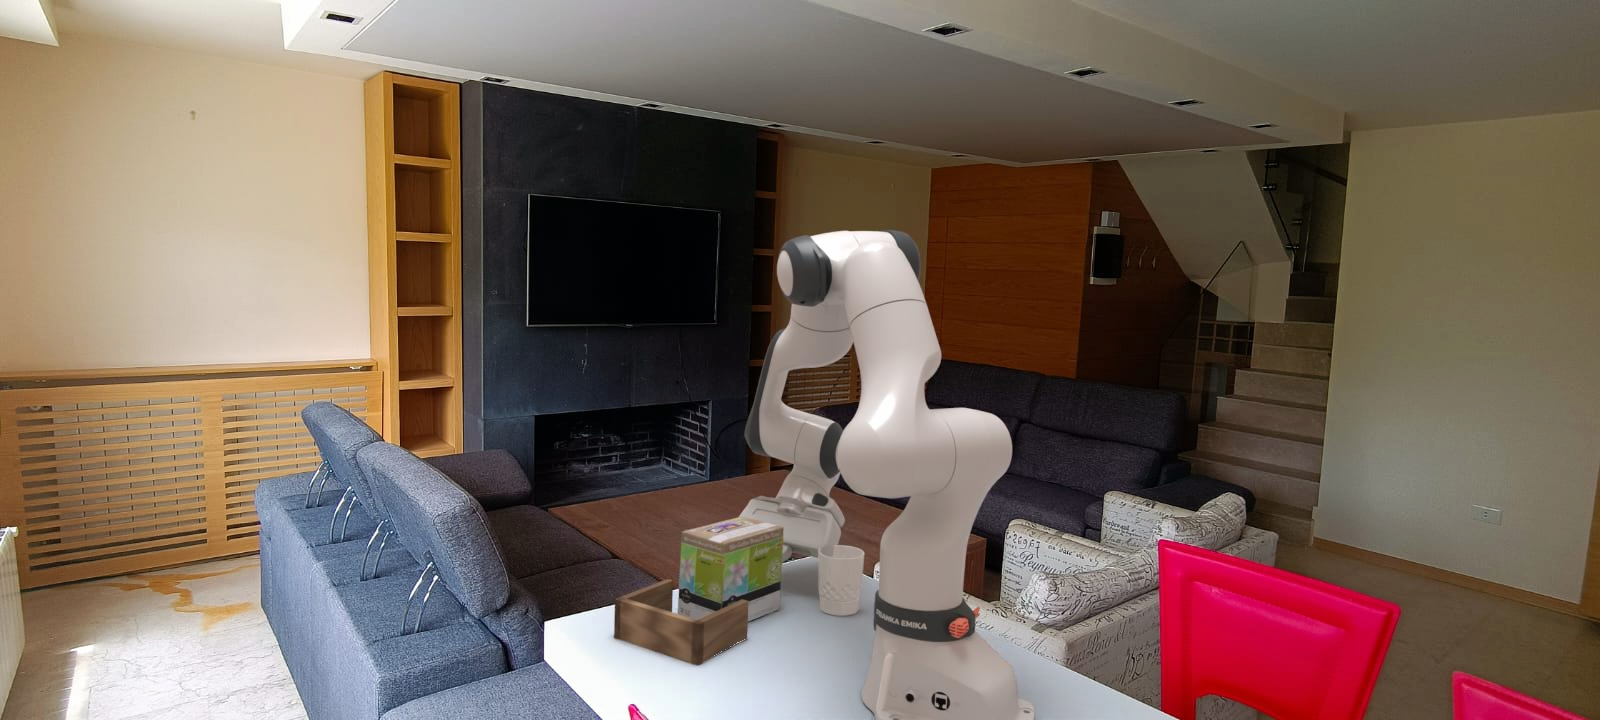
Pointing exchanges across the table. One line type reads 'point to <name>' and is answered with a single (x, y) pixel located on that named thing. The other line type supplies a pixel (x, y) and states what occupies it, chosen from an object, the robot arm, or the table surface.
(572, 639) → the table surface
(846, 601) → the white cup
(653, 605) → the wooden box
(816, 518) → the robot arm
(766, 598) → the tea box
